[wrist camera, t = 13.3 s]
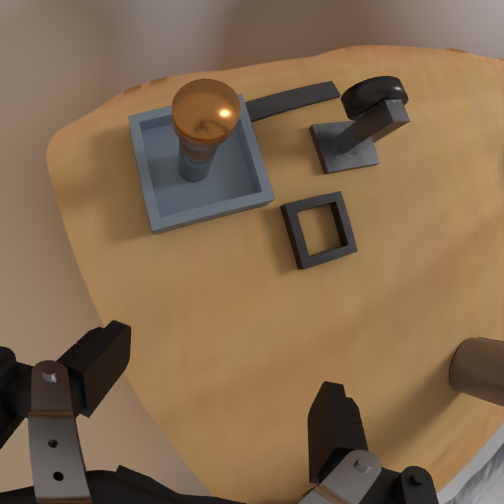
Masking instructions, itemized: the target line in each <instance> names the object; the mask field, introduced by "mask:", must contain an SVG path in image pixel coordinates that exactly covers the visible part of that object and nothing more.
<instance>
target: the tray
mask: <svg viewBox="0 0 504 504" xmlns="http://www.w3.org/2000/svg"><path fill="white" fill-rule="evenodd" d="M237 96H238V98H239V100H240V104H241V113H240V117H239V119H238V122H237V124H236V126H235V128H234V130H233V132H232V134H231V136H230V137H229V138H228V139H227V140H226V141H225V142H224V143H222V144H220V145H218V148H217V150H216V153H215V156H214V158H213V161H212V164H211V167H210V169H209V172H208V174H207V176H206V177H205V178H204V179H203V180H201V181H199V182H188V181H186V180H184V179H183V178H182V177H181V176H180V174H179V171H178V156H179V138H178V137H177V135H176V134H175V132H174V130H173V127H172V106H169V107H165V108H160V109H156V110H152V111H147V112H143V113H139V114H135V115H132V116H128V117H129V123H130V129H131V135H132V141H133V146H134V151H135V156H136V161H137V166H138V171H139V176H140V181H141V185H142V190H143V195H144V199H145V203H146V208H147V212H148V216H149V220H150V224H151V228H152V231H153V233H154V235H155V234H158V233H162V232H166V231H169V230H173V229H176V228H180V227H184V226H188V225H191V224H195V223H199V222H203V221H206V220H210V219H214V218H218V217H222V216H226V215H229V214H233V213H237V212H241V211H245V210H249V209H253V208H257V207H262V206H266V205H267V204H269V203H270V202H272V201H273V200H275V198H274V195H273V192H272V188H271V185H270V182H269V178H268V175H267V172H266V168H265V165H264V162H263V159H262V155H261V152H260V149H259V146H258V142H257V139H256V136H255V133H254V130H253V127H252V123H251V120H250V117H249V114H248V111H247V108H246V105H245V102H244V99H243V96H242V94H239V95H237Z"/></svg>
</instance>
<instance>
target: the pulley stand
mask: <svg viewBox="0 0 504 504" xmlns="http://www.w3.org/2000/svg"><path fill="white" fill-rule="evenodd" d="M341 102H342V104H343V107H344V109H345V112H346V114H347V117H348V118H349V119H350V120H353V121H348V122H336V123H325V124H315V125H312V126H311V127H310V128H309V130H310V133H311V135H312V138H313V141H314V144H315V147H316V150H317V153H318V156H319V159H320V162H321V165H322V168H323V171H324V174H329V173H335V172H340V171H346V170H351V169H357V168H363V167H369V166H375V165H377V164H379V163H380V161H379V159H378V156H377V153H376V150H375V147H374V144H373V143H375V142H376V141H378V140H380V139H381V138H383V137H385V136H386V135H388V134H390V133H391V132H393V131H395V130H396V129H398V128H400V127H401V126H403V125H405V124H406V123H408V122H410V120H409V117H408V115H407V112H406V110H405V108H404V105H405V104H406V103H407V102H408V96H407V94H406V92H405V90H404V87H403V85H402V83H401V81H400V80H399V79H398V78H396V77H392V76H380V77H374V78H370V79H367V80H364V81H362V82H359V83H357V84H355V85H354V86H352V87H350V88H349V89H348V90H346V91H345V92H344V93H343V95H342V97H341Z"/></svg>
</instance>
